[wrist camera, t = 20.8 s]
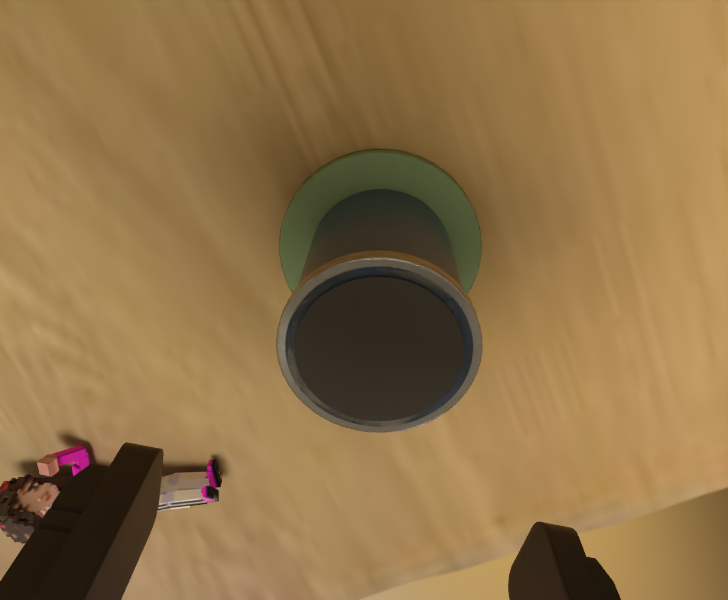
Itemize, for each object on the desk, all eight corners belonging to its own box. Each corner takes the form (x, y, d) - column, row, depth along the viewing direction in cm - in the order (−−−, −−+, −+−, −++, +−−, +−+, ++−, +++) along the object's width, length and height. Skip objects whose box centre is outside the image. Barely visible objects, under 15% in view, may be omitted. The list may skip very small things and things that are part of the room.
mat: (246, 196, 25) (242, 200, 24) (440, 114, 23) (441, 117, 22) (331, 357, 28) (330, 364, 28) (504, 298, 27) (506, 303, 26)
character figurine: (229, 461, 34) (31, 494, 34) (204, 409, 31) (-16, 445, 30) (222, 555, 30) (-5, 592, 30) (192, 505, 26) (-65, 548, 26)
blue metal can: (447, 452, 20) (513, 286, 17) (260, 412, 19) (295, 234, 16) (430, 334, 27) (475, 204, 24) (294, 303, 26) (323, 167, 23)
